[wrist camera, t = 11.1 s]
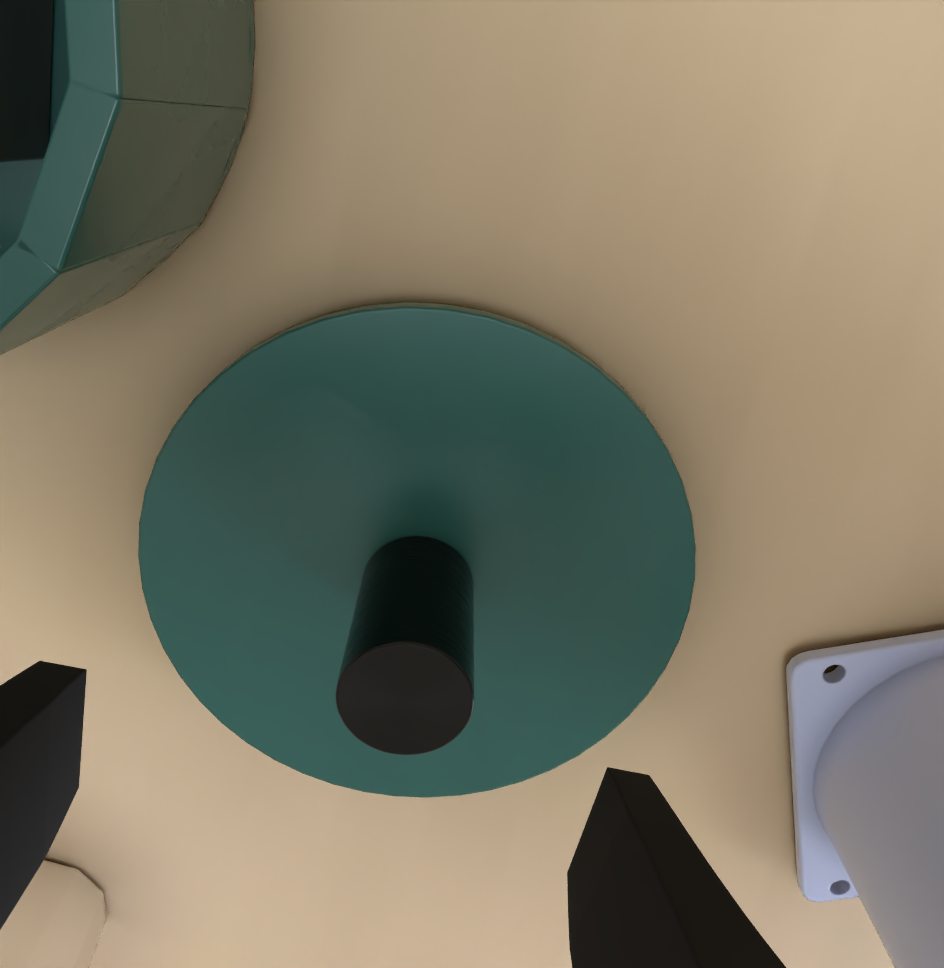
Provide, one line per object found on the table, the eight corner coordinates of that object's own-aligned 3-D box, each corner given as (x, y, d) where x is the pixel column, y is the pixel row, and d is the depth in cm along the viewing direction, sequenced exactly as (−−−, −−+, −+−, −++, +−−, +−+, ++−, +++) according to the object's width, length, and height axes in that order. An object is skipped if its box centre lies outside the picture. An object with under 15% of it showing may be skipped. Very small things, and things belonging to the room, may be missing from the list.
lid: (792, 465, 18) (904, 582, 14) (515, 830, 22) (527, 1017, 18) (287, 181, 16) (211, 203, 11) (81, 646, 20) (-37, 806, 15)
